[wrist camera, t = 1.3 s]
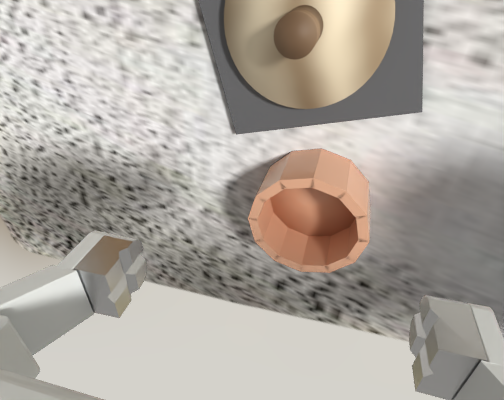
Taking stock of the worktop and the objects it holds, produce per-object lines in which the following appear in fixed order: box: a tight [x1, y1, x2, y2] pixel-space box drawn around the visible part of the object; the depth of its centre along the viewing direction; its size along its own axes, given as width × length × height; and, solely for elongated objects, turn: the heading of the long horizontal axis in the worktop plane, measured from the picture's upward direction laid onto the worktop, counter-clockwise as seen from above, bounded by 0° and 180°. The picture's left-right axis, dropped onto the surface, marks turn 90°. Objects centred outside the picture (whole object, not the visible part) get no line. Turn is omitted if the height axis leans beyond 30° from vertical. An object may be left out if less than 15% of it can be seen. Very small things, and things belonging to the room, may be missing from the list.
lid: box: [224, 0, 395, 109], centre depth 28 cm, size 14×14×5 cm
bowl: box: [248, 149, 370, 273], centre depth 38 cm, size 12×12×6 cm
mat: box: [198, 0, 424, 134], centre depth 30 cm, size 18×18×1 cm
